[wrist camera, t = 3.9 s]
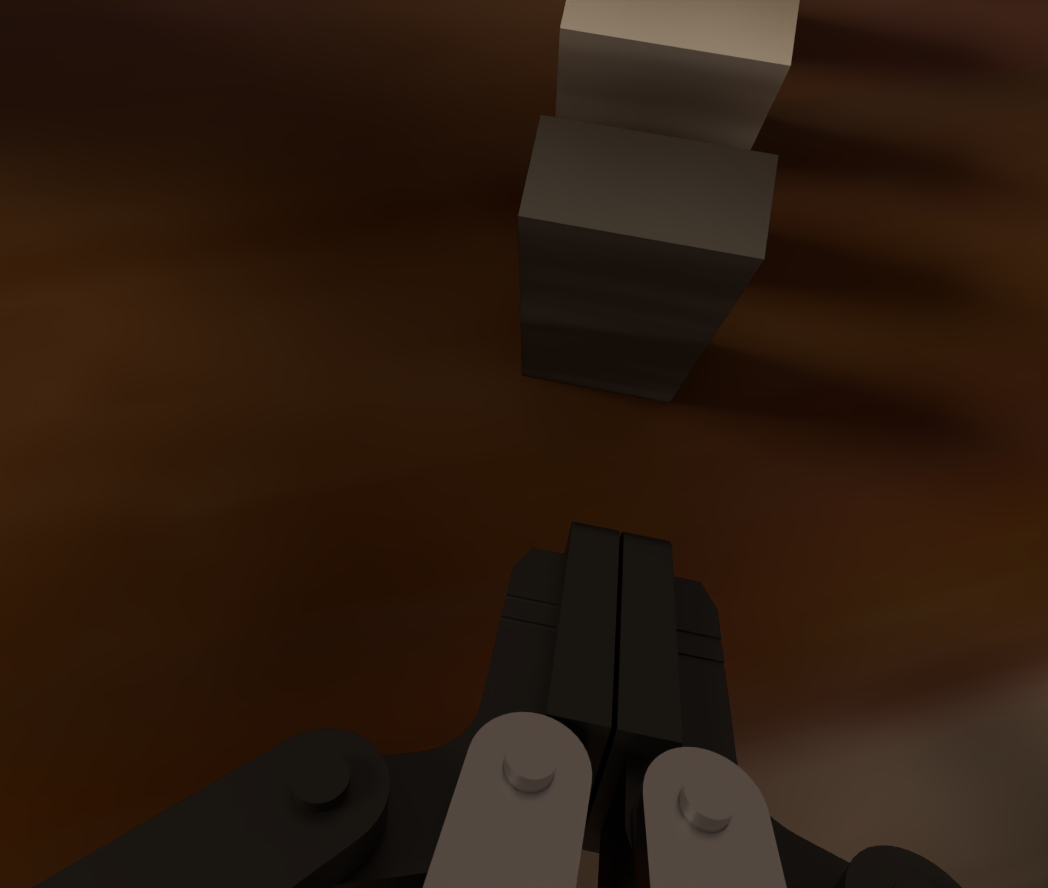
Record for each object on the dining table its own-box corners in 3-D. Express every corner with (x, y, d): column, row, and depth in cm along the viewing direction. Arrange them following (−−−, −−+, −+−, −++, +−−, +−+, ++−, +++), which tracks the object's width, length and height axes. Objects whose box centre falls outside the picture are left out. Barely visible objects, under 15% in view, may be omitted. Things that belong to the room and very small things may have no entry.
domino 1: (689, 277, 25) (790, 65, 16) (547, 252, 26) (560, 27, 16) (699, 216, 26) (802, -26, 16) (560, 192, 26) (579, -61, 16)
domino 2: (669, 402, 24) (764, 259, 15) (522, 375, 25) (518, 215, 15) (680, 336, 25) (778, 155, 15) (535, 309, 25) (541, 114, 15)
